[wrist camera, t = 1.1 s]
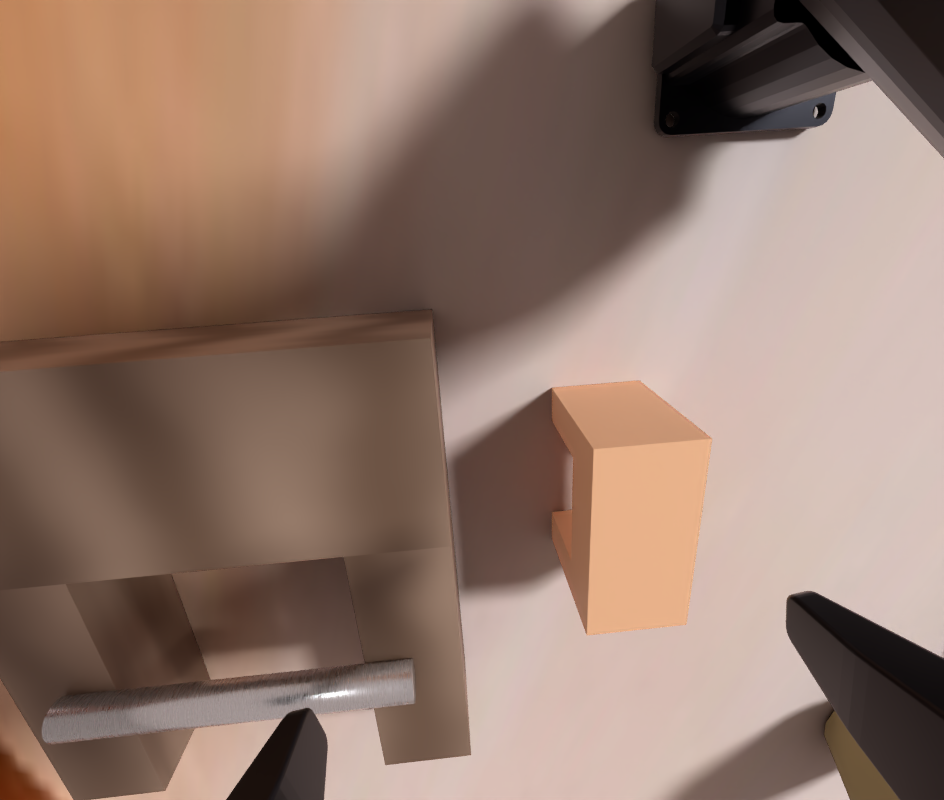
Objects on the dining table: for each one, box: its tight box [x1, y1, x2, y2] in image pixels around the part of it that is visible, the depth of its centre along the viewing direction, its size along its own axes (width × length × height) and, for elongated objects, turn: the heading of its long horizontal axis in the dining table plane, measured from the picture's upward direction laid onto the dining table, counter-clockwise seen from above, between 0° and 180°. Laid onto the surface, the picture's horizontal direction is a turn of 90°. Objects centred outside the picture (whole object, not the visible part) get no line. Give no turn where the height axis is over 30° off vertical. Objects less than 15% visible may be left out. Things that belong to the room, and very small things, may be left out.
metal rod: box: [42, 658, 416, 744], centre depth 19 cm, size 14×2×2 cm, turn 94°
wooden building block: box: [552, 381, 712, 635], centre depth 20 cm, size 4×8×6 cm, turn 4°
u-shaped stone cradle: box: [0, 309, 471, 800], centre depth 20 cm, size 18×20×5 cm
